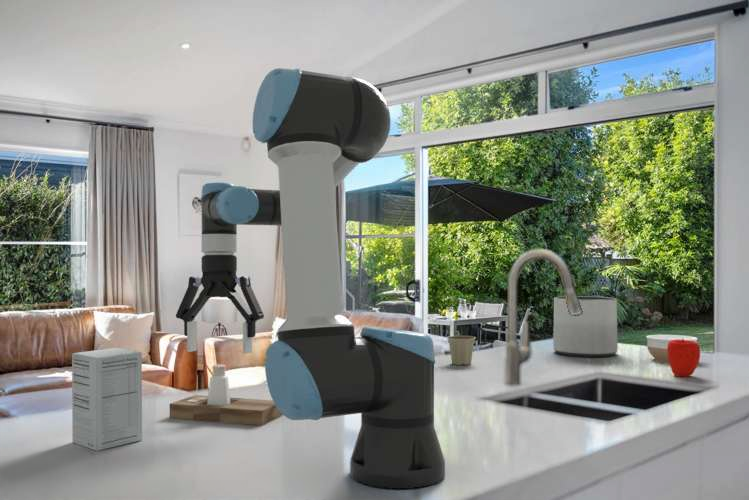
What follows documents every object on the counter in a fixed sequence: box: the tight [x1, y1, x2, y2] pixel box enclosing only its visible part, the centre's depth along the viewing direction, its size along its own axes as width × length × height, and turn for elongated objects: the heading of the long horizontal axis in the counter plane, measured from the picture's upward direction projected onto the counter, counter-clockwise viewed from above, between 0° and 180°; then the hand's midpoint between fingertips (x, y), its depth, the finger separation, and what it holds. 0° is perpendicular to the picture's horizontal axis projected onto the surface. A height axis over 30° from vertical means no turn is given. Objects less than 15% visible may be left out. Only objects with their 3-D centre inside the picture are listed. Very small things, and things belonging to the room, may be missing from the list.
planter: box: [552, 295, 618, 358], centre depth 249 cm, size 22×22×20 cm
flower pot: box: [446, 335, 477, 366], centre depth 224 cm, size 9×9×9 cm
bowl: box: [645, 333, 698, 363], centre depth 233 cm, size 16×16×8 cm
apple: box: [667, 339, 701, 378], centre depth 203 cm, size 9×9×11 cm
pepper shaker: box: [207, 364, 231, 406], centre depth 151 cm, size 5×5×11 cm
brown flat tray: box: [169, 394, 283, 426], centre depth 150 cm, size 10×22×3 cm, turn 72°
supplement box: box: [71, 347, 143, 452], centre depth 130 cm, size 10×9×17 cm
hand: (219, 352), depth 150 cm, fingers open, 13 cm apart
